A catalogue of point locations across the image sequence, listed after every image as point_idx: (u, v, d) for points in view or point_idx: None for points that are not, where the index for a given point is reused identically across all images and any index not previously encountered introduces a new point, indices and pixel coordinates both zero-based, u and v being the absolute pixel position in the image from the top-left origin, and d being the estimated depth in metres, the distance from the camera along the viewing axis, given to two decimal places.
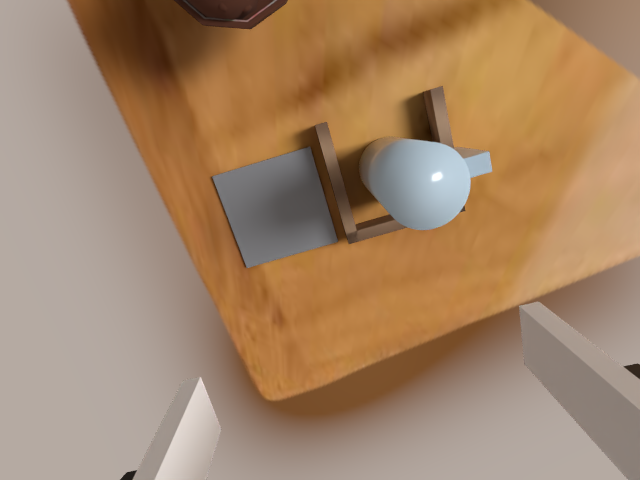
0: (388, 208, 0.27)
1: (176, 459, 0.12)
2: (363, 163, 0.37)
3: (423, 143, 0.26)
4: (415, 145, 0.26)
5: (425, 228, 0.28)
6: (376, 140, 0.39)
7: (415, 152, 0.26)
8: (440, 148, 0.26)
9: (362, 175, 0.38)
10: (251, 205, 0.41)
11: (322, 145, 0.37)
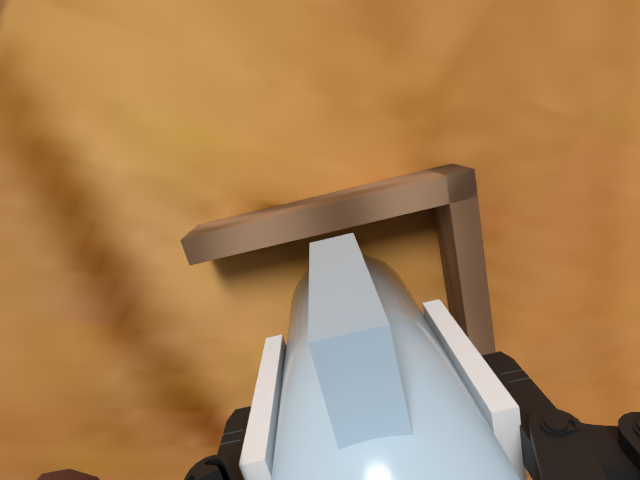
0: None
1: (279, 398, 0.13)
2: None
3: None
4: None
5: None
6: None
7: None
8: None
9: None
10: None
11: None
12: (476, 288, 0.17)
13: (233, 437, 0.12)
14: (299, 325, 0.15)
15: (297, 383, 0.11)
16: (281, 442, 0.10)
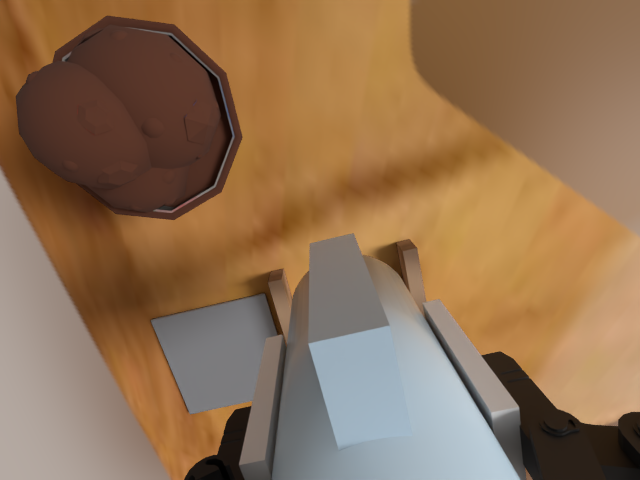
0: None
1: (279, 398, 0.13)
2: None
3: None
4: None
5: None
6: None
7: None
8: None
9: None
10: (195, 351, 0.36)
11: (276, 303, 0.32)
12: None
13: (233, 437, 0.12)
14: (299, 325, 0.15)
15: (297, 383, 0.11)
16: (281, 443, 0.10)
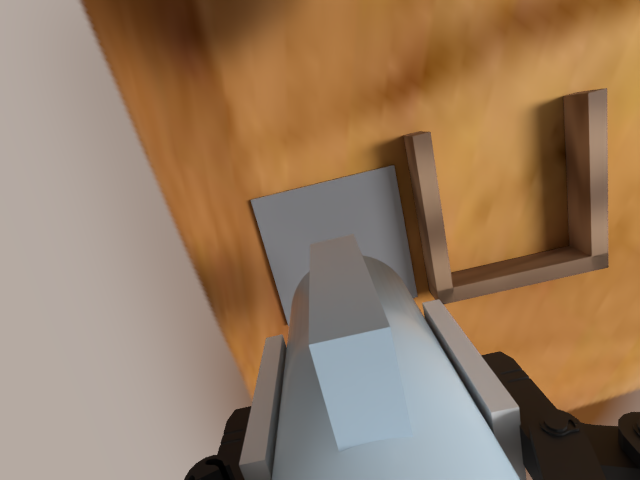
0: None
1: (279, 398, 0.13)
2: None
3: None
4: None
5: None
6: None
7: None
8: None
9: None
10: (302, 242, 0.29)
11: (419, 166, 0.25)
12: (535, 277, 0.28)
13: (233, 437, 0.12)
14: (300, 326, 0.15)
15: (297, 384, 0.11)
16: (282, 444, 0.10)
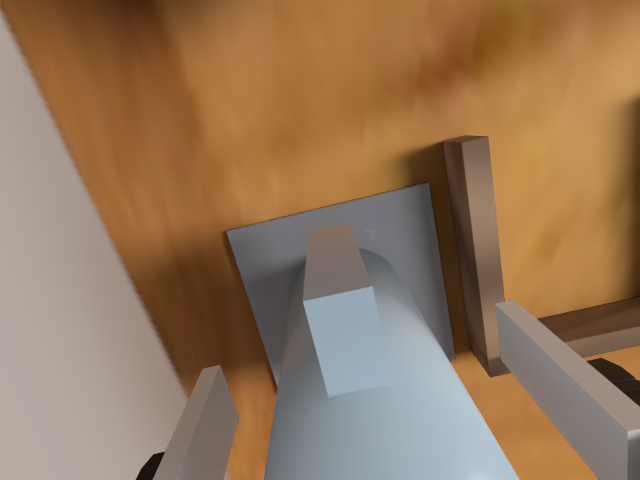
0: None
1: (201, 442, 0.12)
2: None
3: None
4: None
5: None
6: None
7: None
8: None
9: None
10: None
11: (470, 186, 0.17)
12: (626, 340, 0.20)
13: None
14: (298, 308, 0.16)
15: (295, 354, 0.12)
16: (280, 403, 0.11)
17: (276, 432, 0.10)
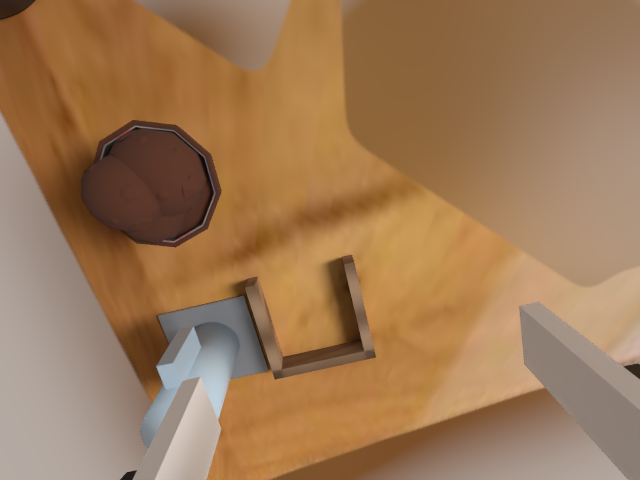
0: None
1: (176, 459, 0.12)
2: None
3: (141, 436, 0.33)
4: (144, 441, 0.34)
5: None
6: None
7: (149, 441, 0.34)
8: (145, 425, 0.33)
9: None
10: None
11: (251, 303, 0.43)
12: (331, 363, 0.45)
13: None
14: None
15: None
16: (159, 390, 0.37)
17: None
